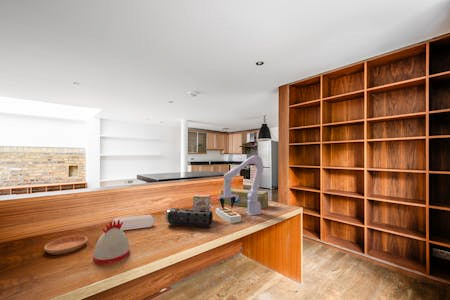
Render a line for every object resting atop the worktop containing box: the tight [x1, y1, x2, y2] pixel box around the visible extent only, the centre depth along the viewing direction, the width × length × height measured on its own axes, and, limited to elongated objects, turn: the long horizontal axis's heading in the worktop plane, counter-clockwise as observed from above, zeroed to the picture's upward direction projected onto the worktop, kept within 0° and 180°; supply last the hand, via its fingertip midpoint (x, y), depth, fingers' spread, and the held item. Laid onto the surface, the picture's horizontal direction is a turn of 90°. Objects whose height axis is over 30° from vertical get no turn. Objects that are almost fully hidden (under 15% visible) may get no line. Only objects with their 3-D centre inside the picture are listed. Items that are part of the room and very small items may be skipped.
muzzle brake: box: [164, 208, 214, 229], centre depth 122 cm, size 10×28×10 cm, turn 78°
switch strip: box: [215, 206, 242, 224], centre depth 139 cm, size 8×24×4 cm, turn 25°
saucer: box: [44, 235, 89, 256], centre depth 93 cm, size 16×16×3 cm
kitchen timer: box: [92, 220, 131, 265], centre depth 87 cm, size 14×14×15 cm
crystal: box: [112, 213, 155, 231], centre depth 120 cm, size 7×7×24 cm
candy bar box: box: [192, 194, 211, 211], centre depth 134 cm, size 11×5×16 cm, turn 84°
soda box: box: [220, 187, 269, 210], centre depth 175 cm, size 40×14×13 cm, turn 62°
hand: (227, 207), depth 147 cm, fingers open, 7 cm apart
